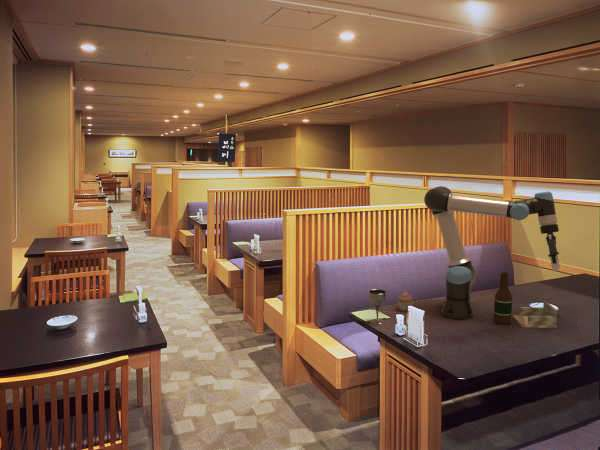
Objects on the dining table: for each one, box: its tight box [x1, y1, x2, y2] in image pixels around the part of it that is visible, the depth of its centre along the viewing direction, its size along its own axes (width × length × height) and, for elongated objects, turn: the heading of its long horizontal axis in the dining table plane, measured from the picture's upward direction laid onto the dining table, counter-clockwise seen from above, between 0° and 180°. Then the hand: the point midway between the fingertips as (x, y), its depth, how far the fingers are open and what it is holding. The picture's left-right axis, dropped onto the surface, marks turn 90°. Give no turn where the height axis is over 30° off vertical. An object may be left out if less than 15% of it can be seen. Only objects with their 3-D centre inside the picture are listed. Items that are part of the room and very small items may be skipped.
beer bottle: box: [493, 271, 513, 325], centre depth 223 cm, size 8×8×24 cm
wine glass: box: [368, 288, 387, 325], centre depth 229 cm, size 8×8×15 cm
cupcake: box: [396, 290, 416, 313], centre depth 245 cm, size 9×9×10 cm
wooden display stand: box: [512, 301, 558, 329], centre depth 223 cm, size 15×14×8 cm
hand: (556, 269), depth 220 cm, fingers open, 13 cm apart
